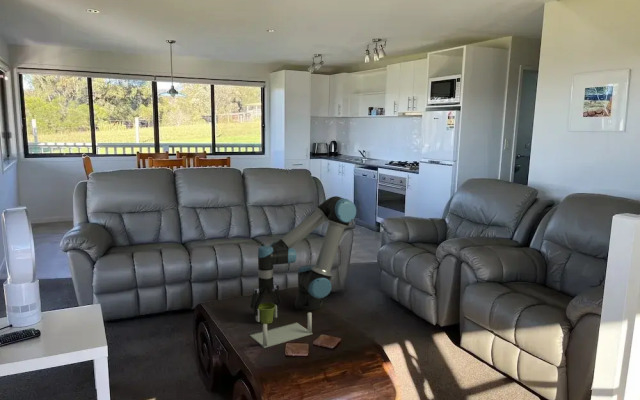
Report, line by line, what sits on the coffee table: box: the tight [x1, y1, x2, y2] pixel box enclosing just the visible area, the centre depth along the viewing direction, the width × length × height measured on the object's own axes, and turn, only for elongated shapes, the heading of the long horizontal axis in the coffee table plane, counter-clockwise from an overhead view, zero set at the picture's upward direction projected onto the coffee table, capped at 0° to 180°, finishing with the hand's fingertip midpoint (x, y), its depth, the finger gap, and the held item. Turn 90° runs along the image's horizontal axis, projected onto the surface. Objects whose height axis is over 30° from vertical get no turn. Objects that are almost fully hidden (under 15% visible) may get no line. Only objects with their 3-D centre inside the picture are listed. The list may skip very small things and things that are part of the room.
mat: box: [249, 311, 313, 349], centre depth 218 cm, size 26×15×10 cm, turn 124°
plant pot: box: [258, 302, 276, 325], centre depth 233 cm, size 9×9×9 cm
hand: (266, 318), depth 234 cm, fingers closed on plant pot, 9 cm apart
